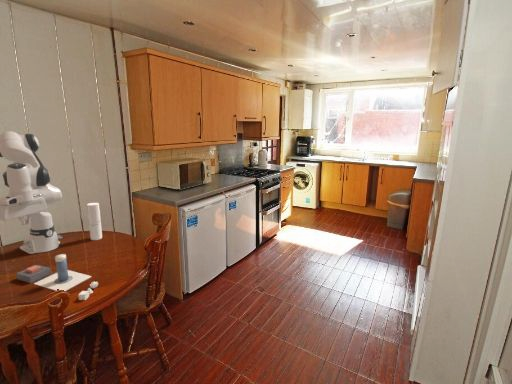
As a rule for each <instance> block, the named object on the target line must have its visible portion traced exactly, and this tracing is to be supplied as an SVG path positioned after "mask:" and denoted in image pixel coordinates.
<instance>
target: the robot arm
mask: <svg viewBox="0 0 512 384" xmlns="http://www.w3.org/2000/svg"><path fill="white" fill-rule="evenodd" d="M39 148H40V142H39V139H38V137H36V136H35V135H34V134H32V133H25V134H19V133H18V132H15V131H11V130H9V131H4V132H1V134H0V158H4V159H5V160H7V161H10V162H13V163H10V164H8V165H7V166H6V171H5V172H3V174H2V177H3V181H4V186H6V187H8V188H9V190H8V193H9V194H7V195H5V196H3V197H1V198H0V220H1V221H4V222H6V221H10V220H14V219H19V221H20V222H21V224H22V226H25V225H29V224H30V228H29V229H28V230H29V234H28V235H27V236H26V237H25V238H24V239H23V245H21V246H20V247H19V249H20V250H21V251H23V252H26V253H27V254H30V255H31V254H32V255H33V254H36V253H37V254H38V253H39V254H40V253H45V252H50V251H53V250H55V249H57V248H59V247H60V244H61V241H59V239H58V238H57V234H58V233H57V232H56V231H55V230H56V229H55V225H54V223H53V216H52V214H51V213H50V212H49V211H47V210H48V205H52V204H53V205H54V204H56V203H58V202H60V201H61V200H62V198H63V193H62V191H61V189H60V188H59V187H57V186H54V185H52V184H51V183H50V182H51V174H50V171H49V170H48V169H47V168H46V167H45V166H44V164H43V163H42V161H41V159H40V158H39V156H38V155H37V153H36V152H38V151H39ZM25 216H26V219H25ZM24 219H25V220H24Z"/></svg>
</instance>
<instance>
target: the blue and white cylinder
mask: <svg viewBox="0 0 512 384" xmlns="http://www.w3.org/2000/svg"><path fill="white" fill-rule="evenodd" d="M54 261H55V265H56V273H57V275H58V281H59V282H64V281H67V280H68V279H69V277H68V270H69V269H68V261H67V254H65V253H61V254H57V255H55V256H54Z"/></svg>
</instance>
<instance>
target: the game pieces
mask: <svg viewBox="0 0 512 384" xmlns="http://www.w3.org/2000/svg"><path fill="white" fill-rule="evenodd" d="M98 286H99V282H98V281H92V282H90V283H89V287H88V288H87V290H82V291H81V292H79V293H78V300H79V301H86V300H87V299H88V298H89V297H90V295H91V294H93V293H94V291H93V290H92V289H96V288H97V287H98Z"/></svg>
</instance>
